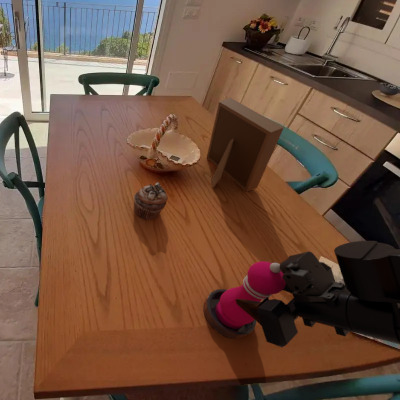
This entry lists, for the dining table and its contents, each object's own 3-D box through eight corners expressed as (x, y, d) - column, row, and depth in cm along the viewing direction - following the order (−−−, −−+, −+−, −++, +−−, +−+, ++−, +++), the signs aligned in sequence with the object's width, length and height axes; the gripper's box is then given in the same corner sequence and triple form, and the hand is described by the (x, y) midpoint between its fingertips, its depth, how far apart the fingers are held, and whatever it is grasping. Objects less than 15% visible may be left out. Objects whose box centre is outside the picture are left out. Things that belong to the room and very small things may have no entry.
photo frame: (214, 156, 110) (242, 96, 93) (255, 189, 95) (298, 125, 78) (184, 162, 106) (208, 100, 89) (222, 197, 91) (259, 131, 74)
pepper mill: (209, 319, 60) (253, 269, 46) (216, 294, 64) (258, 242, 51) (244, 338, 57) (301, 291, 43) (248, 310, 61) (302, 260, 48)
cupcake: (150, 197, 89) (157, 173, 83) (168, 217, 83) (177, 193, 76) (125, 204, 86) (131, 180, 79) (142, 225, 80) (149, 201, 73)
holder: (260, 325, 60) (266, 321, 58) (229, 347, 56) (234, 343, 54) (224, 287, 66) (228, 282, 64) (193, 305, 62) (197, 300, 61)
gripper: (365, 236, 43) (264, 234, 57) (308, 291, 35) (207, 273, 49) (385, 300, 43) (280, 283, 57) (333, 369, 35) (226, 329, 49)
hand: (250, 290), depth 53 cm, fingers open, 9 cm apart
